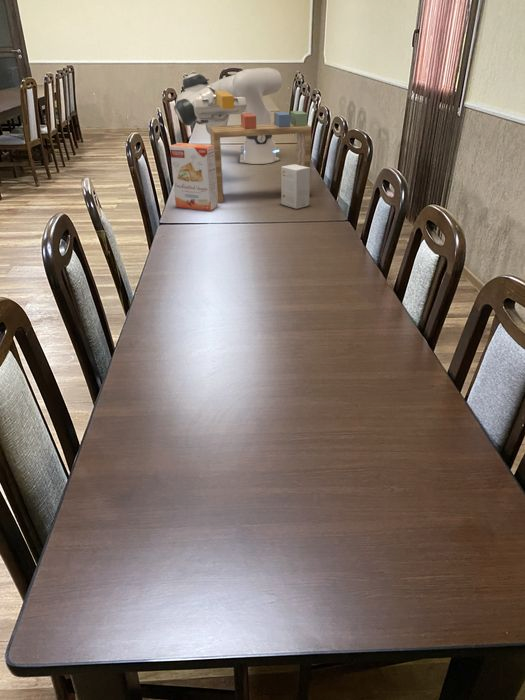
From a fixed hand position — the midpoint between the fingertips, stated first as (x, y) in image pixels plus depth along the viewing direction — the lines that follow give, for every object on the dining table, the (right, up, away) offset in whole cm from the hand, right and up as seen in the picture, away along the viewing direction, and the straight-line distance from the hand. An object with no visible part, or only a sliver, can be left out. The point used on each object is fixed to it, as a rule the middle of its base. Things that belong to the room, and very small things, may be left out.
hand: (221, 96), depth 198 cm
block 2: (+22, -14, -8) cm, 27 cm away
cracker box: (-8, -44, -9) cm, 45 cm away
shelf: (+15, -36, +3) cm, 39 cm away
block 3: (+28, -13, -7) cm, 32 cm away
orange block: (+1, -5, -4) cm, 7 cm away
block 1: (+10, -15, -10) cm, 21 cm away
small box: (+27, -43, -9) cm, 51 cm away
